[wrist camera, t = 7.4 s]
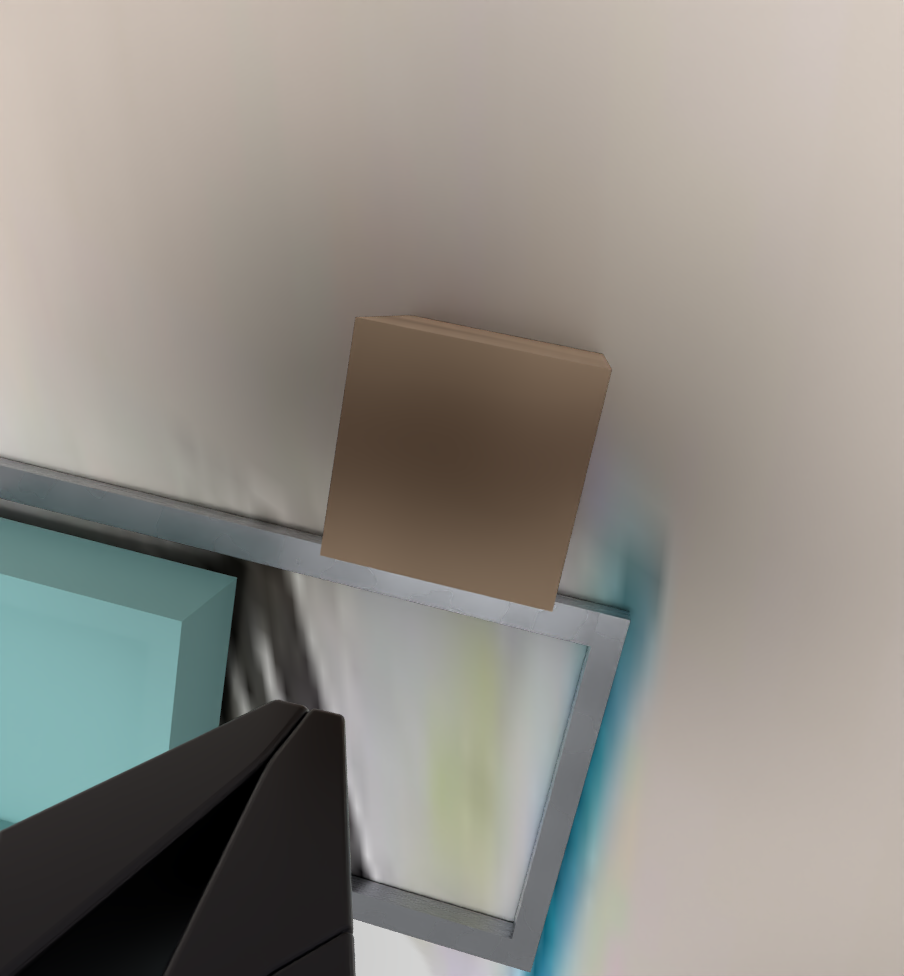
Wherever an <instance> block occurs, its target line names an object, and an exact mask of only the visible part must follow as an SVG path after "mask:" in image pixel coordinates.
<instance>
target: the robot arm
mask: <svg viewBox="0 0 904 976" xmlns="http://www.w3.org/2000/svg"><path fill="white" fill-rule="evenodd" d="M0 976H355V953H354V937H353V911H352V886H351V861H350V835H349V810H348V785H347V759H346V734H345V719H344V717H343V716H342V715H340V714H336V713H332V712H328V711H323V710H319V709H312V710H310V711H309V710H308V708H307V707H305V706H303V705H298V704H294V703H290V702H286V701H282V700H274V701H271V702H269V703H267V704H265V705H263V706H260V707H258V708H256V709H254V710H252V711H250V712H248V713H246V714H244V715H242V716H240V717H237V718H235V719H233V720H231V721H229V722H227V723H225V724H223V725H221V726H219V727H217V728H214V729H212V730H210V731H208V732H206V733H204V734H202V735H200V736H198V737H196V738H193V739H191V740H189V741H187V742H185V743H183V744H181V745H179V746H177V747H175V748H173V749H170V750H168V751H166V752H164V753H162V754H160V755H158V756H156V757H154V758H152V759H149V760H147V761H145V762H143V763H141V764H139V765H137V766H135V767H133V768H131V769H129V770H126V771H124V772H122V773H120V774H118V775H116V776H114V777H112V778H110V779H108V780H106V781H103V782H101V783H99V784H97V785H95V786H93V787H91V788H89V789H87V790H85V791H82V792H80V793H78V794H76V795H74V796H72V797H70V798H68V799H66V800H64V801H62V802H59V803H57V804H55V805H53V806H51V807H49V808H47V809H45V810H43V811H41V812H39V813H36V814H34V815H32V816H30V817H28V818H26V819H24V820H22V821H20V822H18V823H15V824H13V825H11V826H9V827H7V828H5V829H3V830H1V831H0Z"/></svg>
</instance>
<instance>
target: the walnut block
mask: <svg viewBox="0 0 904 976" xmlns="http://www.w3.org/2000/svg"><path fill="white" fill-rule="evenodd" d="M611 371H612V369H611V367H610V365H609V364H608V362H607V360H606V359H605V357H604V355H603V354H600V353H595V352H590V351H585V350H580V349H575V348H571V347H566V346H561V345H556V344H551V343H546V342H541V341H536V340H531V339H526V338H521V337H516V336H511V335H506V334H501V333H496V332H491V331H486V330H481V329H476V328H472V327H467V326H462V325H457V324H452V323H447V322H442V321H437V320H432V319H427V318H422V317H417V316H412V315H403V316H374V317H355V324H354V330H353V337H352V344H351V350H350V357H349V364H348V370H347V377H346V384H345V390H344V397H343V404H342V410H341V417H340V424H339V431H338V437H337V444H336V451H335V457H334V464H333V471H332V477H331V484H330V491H329V497H328V504H327V511H326V517H325V524H324V531H323V538H322V544H321V551H320V555H321V556H325V557H329V558H333V559H337V560H341V561H345V562H349V563H353V564H358V565H362V566H366V567H370V568H374V569H378V570H382V571H386V572H390V573H394V574H399V575H403V576H407V577H411V578H415V579H419V580H423V581H427V582H431V583H435V584H440V585H444V586H448V587H452V588H456V589H460V590H464V591H468V592H472V593H476V594H481V595H485V596H489V597H493V598H497V599H501V600H505V601H509V602H513V603H517V604H522V605H526V606H530V607H534V608H538V609H542V610H546V611H550V612H552V611H553V607H554V603H555V599H556V595H557V591H558V587H559V583H560V579H561V575H562V570H563V566H564V562H565V558H566V554H567V550H568V546H569V542H570V538H571V534H572V530H573V526H574V522H575V518H576V514H577V509H578V505H579V501H580V497H581V493H582V489H583V485H584V481H585V477H586V473H587V469H588V465H589V461H590V457H591V453H592V448H593V444H594V440H595V436H596V432H597V428H598V424H599V420H600V416H601V412H602V408H603V404H604V400H605V396H606V392H607V387H608V383H609V379H610V375H611Z"/></svg>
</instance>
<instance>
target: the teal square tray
mask: <svg viewBox="0 0 904 976" xmlns="http://www.w3.org/2000/svg"><path fill="white" fill-rule="evenodd" d="M236 582H237V577H233V576H229V575H225V574H221V573H217V572H213V571H209V570H205V569H201V568H197V567H193V566H189V565H186V564H182V563H178V562H174V561H170V560H166V559H162V558H158V557H154V556H150V555H146V554H142V553H138V552H135V551H131V550H127V549H123V548H119V547H115V546H111V545H107V544H103V543H99V542H95V541H91V540H87V539H83V538H80V537H76V536H72V535H68V534H64V533H60V532H56V531H52V530H48V529H44V528H40V527H36V526H32V525H28V524H25V523H21V522H17V521H13V520H9V519H5V518H1V517H0V831H1V830H3V829H5V828H7V827H9V826H11V825H13V824H15V823H18V822H20V821H22V820H24V819H26V818H28V817H30V816H32V815H34V814H36V813H39V812H41V811H43V810H45V809H47V808H49V807H51V806H53V805H55V804H57V803H59V802H62V801H64V800H66V799H68V798H70V797H72V796H74V795H76V794H78V793H80V792H82V791H85V790H87V789H89V788H91V787H93V786H95V785H97V784H99V783H101V782H103V781H106V780H108V779H110V778H112V777H114V776H116V775H118V774H120V773H122V772H124V771H126V770H129V769H131V768H133V767H135V766H137V765H139V764H141V763H143V762H145V761H147V760H149V759H152V758H154V757H156V756H158V755H160V754H162V753H164V752H166V751H168V750H170V749H173V748H175V747H177V746H179V745H181V744H183V743H185V742H187V741H189V740H191V739H193V738H196V737H198V736H200V735H202V734H204V733H206V732H208V731H210V730H212V729H214V728H217V727H219V720H220V712H221V704H222V696H223V688H224V680H225V672H226V663H227V655H228V647H229V639H230V631H231V623H232V615H233V607H234V598H235V590H236Z"/></svg>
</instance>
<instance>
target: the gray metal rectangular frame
mask: <svg viewBox="0 0 904 976" xmlns="http://www.w3.org/2000/svg"><path fill="white" fill-rule="evenodd" d="M0 498H2V499H6V500H10V501H14V502H18V503H22V504H26V505H30V506H34V507H38V508H42V509H46V510H50V511H54V512H58V513H62V514H66V515H70V516H74V517H78V518H81V519H85V520H89V521H93V522H97V523H101V524H105V525H109V526H113V527H117V528H121V529H125V530H129V531H133V532H137V533H141V534H145V535H149V536H153V537H157V538H161V539H165V540H169V541H173V542H177V543H181V544H185V545H189V546H193V547H197V548H201V549H205V550H209V551H213V552H217V553H221V554H225V555H229V556H233V557H237V558H241V559H245V560H248V561H252V562H256V563H260V564H264V565H268V566H272V567H276V568H280V569H284V570H288V571H292V572H296V573H300V574H304V575H308V576H312V577H316V578H320V579H324V580H328V581H332V582H336V583H340V584H344V585H348V586H352V587H356V588H360V589H364V590H368V591H372V592H376V593H380V594H384V595H388V596H392V597H396V598H400V599H404V600H408V601H412V602H415V603H419V604H423V605H427V606H431V607H435V608H439V609H443V610H447V611H451V612H455V613H459V614H463V615H467V616H471V617H475V618H479V619H483V620H487V621H491V622H495V623H499V624H503V625H507V626H511V627H515V628H519V629H523V630H527V631H531V632H535V633H539V634H543V635H547V636H551V637H555V638H559V639H563V640H567V641H571V642H575V643H579V644H582V645H586V646H588V648H587V652H586V656H585V659H584V663H583V667H582V670H581V674H580V678H579V682H578V685H577V689H576V693H575V696H574V700H573V704H572V708H571V711H570V715H569V719H568V722H567V726H566V730H565V733H564V737H563V741H562V745H561V748H560V752H559V756H558V759H557V763H556V767H555V771H554V774H553V778H552V782H551V785H550V789H549V793H548V797H547V800H546V804H545V808H544V811H543V815H542V819H541V822H540V826H539V830H538V834H537V837H536V841H535V845H534V848H533V852H532V856H531V860H530V863H529V867H528V871H527V874H526V878H525V882H524V886H523V889H522V893H521V897H520V900H519V904H518V908H517V911H516V915H515V919H514V923H511V922H507V921H504V920H501V919H497V918H494V917H490V916H487V915H484V914H480V913H477V912H474V911H470V910H467V909H463V908H460V907H457V906H453V905H450V904H447V903H443V902H440V901H436V900H433V899H430V898H426V897H423V896H420V895H416V894H413V893H409V892H406V891H403V890H399V889H396V888H393V887H389V886H386V885H383V884H379V883H376V882H372V881H369V880H366V879H362V878H359V877H356V876H352V875H351V886H352V911H353V919H356V920H359V921H362V922H366V923H369V924H373V925H375V926H379V927H382V928H386V929H389V930H392V931H395V932H399V933H402V934H405V935H408V936H412V937H415V938H418V939H422V940H425V941H428V942H432V943H435V944H438V945H441V946H445V947H448V948H451V949H455V950H458V951H461V952H465V953H468V954H471V955H474V956H478V957H481V958H484V959H488V960H491V961H494V962H498V963H501V964H504V965H507V966H511V967H514V968H517V969H521V970H524V971H527V972H531V968H532V965H533V961H534V958H535V954H536V951H537V947H538V944H539V940H540V937H541V933H542V930H543V926H544V923H545V919H546V916H547V912H548V908H549V905H550V901H551V898H552V894H553V891H554V887H555V884H556V880H557V877H558V873H559V870H560V866H561V863H562V859H563V856H564V852H565V849H566V845H567V842H568V838H569V835H570V831H571V827H572V824H573V820H574V817H575V813H576V810H577V806H578V803H579V799H580V796H581V792H582V789H583V785H584V782H585V778H586V775H587V771H588V768H589V764H590V761H591V757H592V754H593V750H594V746H595V743H596V739H597V736H598V732H599V729H600V725H601V722H602V718H603V715H604V711H605V708H606V704H607V701H608V697H609V694H610V690H611V687H612V683H613V680H614V676H615V673H616V669H617V665H618V662H619V658H620V655H621V651H622V648H623V644H624V641H625V637H626V634H627V630H628V627H629V623H630V616H629V611H626V610H621V609H617V608H613V607H609V606H605V605H601V604H597V603H593V602H589V601H585V600H581V599H577V598H572V597H568V596H564V595H560V594H557V595H556V599H555V603H554V607H553V611H552V612H550V611H546V610H542V609H538V608H534V607H530V606H526V605H522V604H517V603H513V602H509V601H505V600H501V599H497V598H493V597H489V596H485V595H481V594H476V593H472V592H468V591H464V590H460V589H456V588H452V587H448V586H444V585H440V584H435V583H431V582H427V581H423V580H419V579H415V578H411V577H407V576H403V575H399V574H394V573H390V572H386V571H382V570H378V569H374V568H370V567H366V566H362V565H358V564H353V563H349V562H345V561H341V560H337V559H333V558H329V557H325V556H321V555H320V551H321V544H322V538H323V536H319V535H315V534H311V533H307V532H303V531H299V530H295V529H291V528H286V527H282V526H278V525H274V524H270V523H266V522H262V521H258V520H254V519H250V518H246V517H242V516H237V515H233V514H229V513H225V512H221V511H217V510H213V509H209V508H205V507H201V506H197V505H193V504H188V503H184V502H180V501H176V500H172V499H168V498H164V497H160V496H156V495H152V494H148V493H143V492H139V491H135V490H131V489H127V488H123V487H119V486H115V485H111V484H107V483H103V482H99V481H94V480H90V479H86V478H82V477H78V476H74V475H70V474H66V473H62V472H58V471H54V470H50V469H45V468H41V467H37V466H33V465H29V464H25V463H21V462H17V461H13V460H9V459H5V458H1V457H0Z"/></svg>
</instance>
